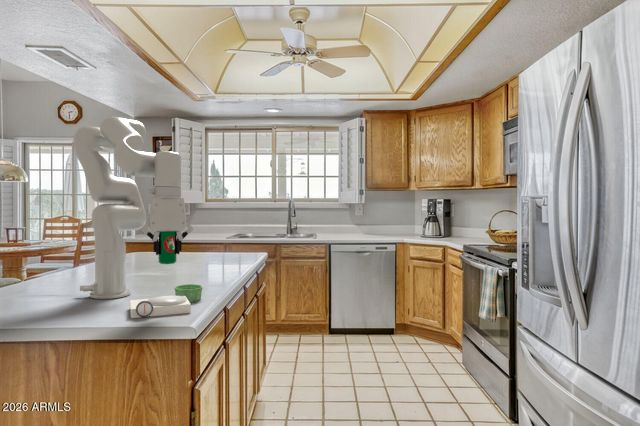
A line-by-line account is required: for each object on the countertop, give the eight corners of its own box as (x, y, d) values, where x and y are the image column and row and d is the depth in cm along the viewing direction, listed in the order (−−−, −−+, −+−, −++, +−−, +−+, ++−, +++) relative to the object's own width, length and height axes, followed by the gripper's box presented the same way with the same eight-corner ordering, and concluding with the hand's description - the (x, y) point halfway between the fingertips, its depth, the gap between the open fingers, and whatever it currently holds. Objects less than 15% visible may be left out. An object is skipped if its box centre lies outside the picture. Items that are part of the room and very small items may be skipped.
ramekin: (194, 303, 134) (194, 290, 133) (168, 302, 135) (168, 288, 135) (207, 297, 142) (207, 285, 142) (183, 296, 144) (183, 283, 144)
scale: (130, 318, 115) (130, 302, 115) (130, 308, 126) (130, 293, 126) (191, 313, 121) (191, 297, 121) (185, 303, 133) (185, 289, 133)
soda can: (161, 262, 127) (161, 222, 127) (178, 262, 127) (178, 222, 127) (156, 264, 122) (156, 223, 122) (173, 264, 122) (174, 223, 122)
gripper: (136, 192, 117) (136, 256, 118) (199, 193, 125) (198, 254, 125) (136, 193, 124) (136, 253, 124) (195, 194, 131) (195, 251, 132)
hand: (167, 253), depth 125 cm, fingers closed on soda can, 5 cm apart
